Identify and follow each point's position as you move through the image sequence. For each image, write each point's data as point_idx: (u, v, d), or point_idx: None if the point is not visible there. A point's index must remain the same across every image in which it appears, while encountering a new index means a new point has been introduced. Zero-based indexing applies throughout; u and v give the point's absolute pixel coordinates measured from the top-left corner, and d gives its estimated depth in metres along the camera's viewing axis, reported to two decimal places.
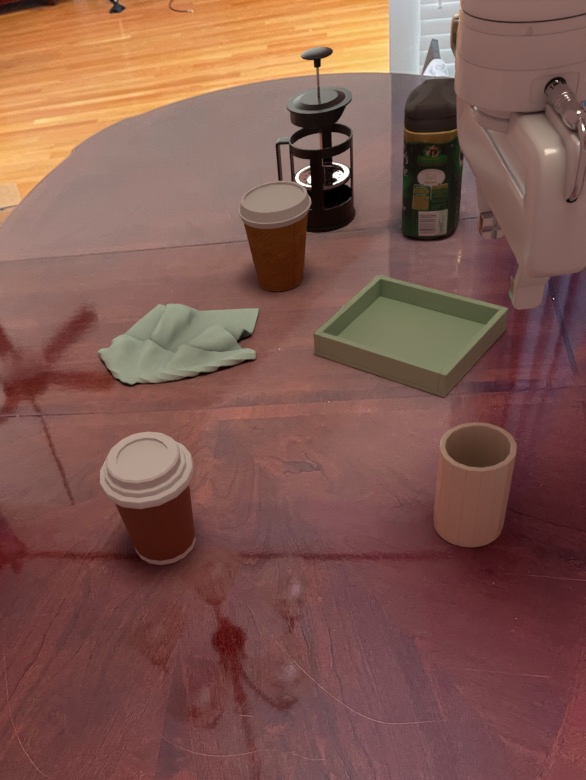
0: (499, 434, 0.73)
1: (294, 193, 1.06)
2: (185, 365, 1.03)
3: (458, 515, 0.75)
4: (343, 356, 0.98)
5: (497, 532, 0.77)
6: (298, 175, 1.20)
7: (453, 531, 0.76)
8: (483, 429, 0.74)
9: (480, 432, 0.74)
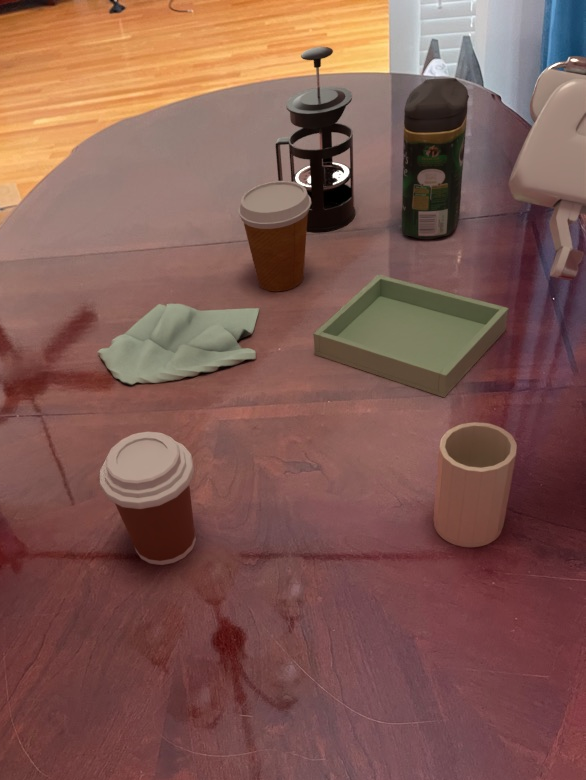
0: (499, 434, 0.73)
1: (294, 193, 1.06)
2: (185, 365, 1.03)
3: (458, 515, 0.75)
4: (343, 356, 0.98)
5: (497, 532, 0.77)
6: (298, 175, 1.20)
7: (453, 531, 0.76)
8: (483, 429, 0.74)
9: (480, 432, 0.74)
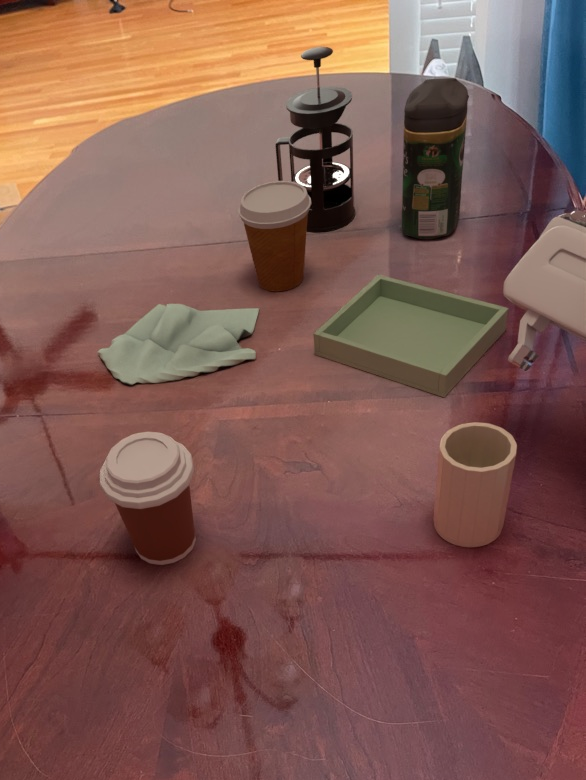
0: (499, 434, 0.73)
1: (294, 192, 1.06)
2: (185, 365, 1.03)
3: (458, 515, 0.75)
4: (343, 356, 0.98)
5: (497, 532, 0.77)
6: (298, 175, 1.20)
7: (453, 531, 0.76)
8: (483, 429, 0.74)
9: (480, 432, 0.74)
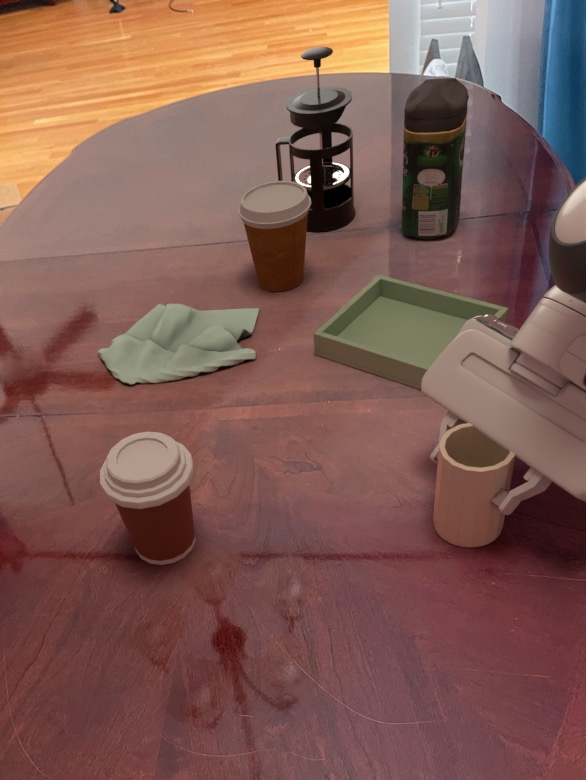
0: None
1: (294, 193, 1.06)
2: (185, 365, 1.03)
3: (458, 515, 0.75)
4: (343, 356, 0.98)
5: (497, 532, 0.77)
6: (298, 175, 1.20)
7: (453, 531, 0.76)
8: None
9: None
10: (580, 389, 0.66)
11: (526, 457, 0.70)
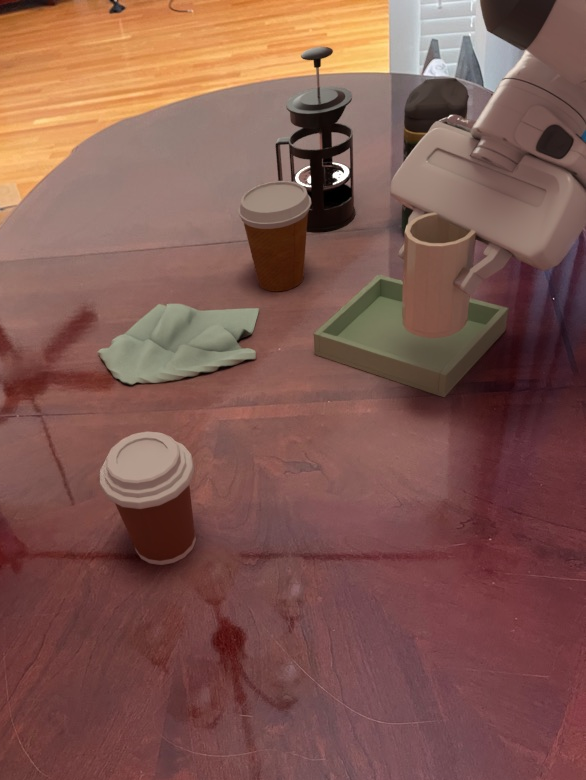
0: None
1: (294, 193, 1.06)
2: (185, 365, 1.03)
3: (423, 301, 0.79)
4: (343, 356, 0.98)
5: (461, 322, 0.81)
6: (298, 175, 1.20)
7: (420, 320, 0.81)
8: None
9: (444, 221, 0.79)
10: (533, 157, 0.71)
11: (485, 232, 0.74)
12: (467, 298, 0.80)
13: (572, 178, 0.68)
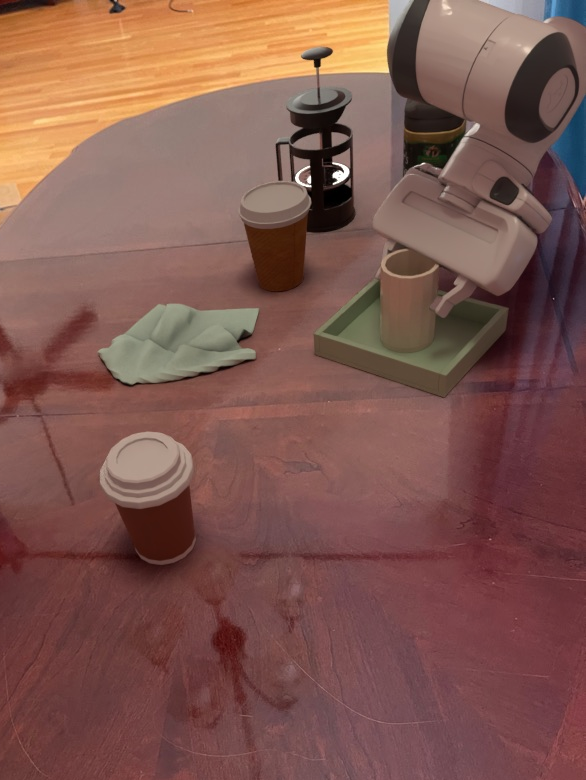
0: None
1: (294, 192, 1.06)
2: (185, 365, 1.03)
3: (396, 322, 0.95)
4: (343, 356, 0.98)
5: (429, 339, 0.97)
6: (298, 175, 1.20)
7: (394, 338, 0.97)
8: (416, 253, 0.94)
9: (413, 256, 0.94)
10: (488, 202, 0.86)
11: (449, 263, 0.89)
12: (433, 320, 0.96)
13: (518, 221, 0.84)
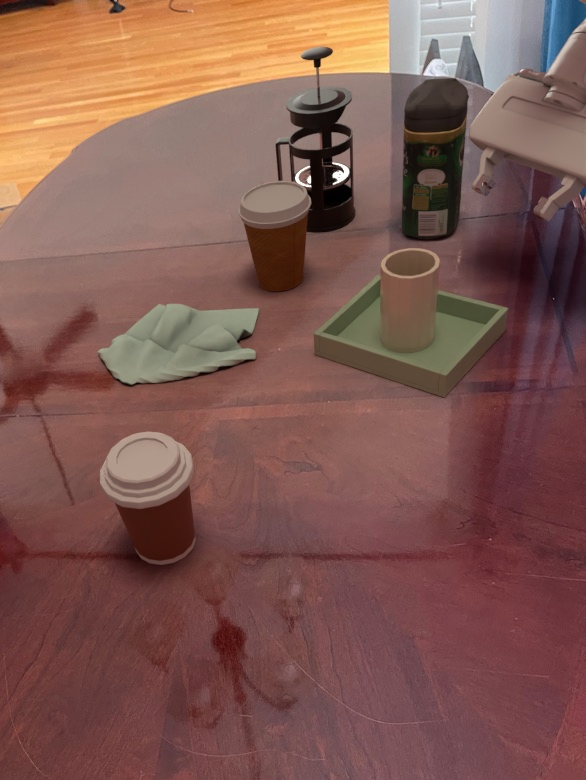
0: (427, 255, 0.93)
1: (294, 193, 1.06)
2: (185, 365, 1.03)
3: (396, 322, 0.95)
4: (343, 356, 0.98)
5: (429, 339, 0.97)
6: (298, 175, 1.20)
7: (394, 338, 0.97)
8: (416, 253, 0.94)
9: (413, 256, 0.94)
10: None
11: (556, 163, 0.88)
12: (433, 320, 0.96)
13: None
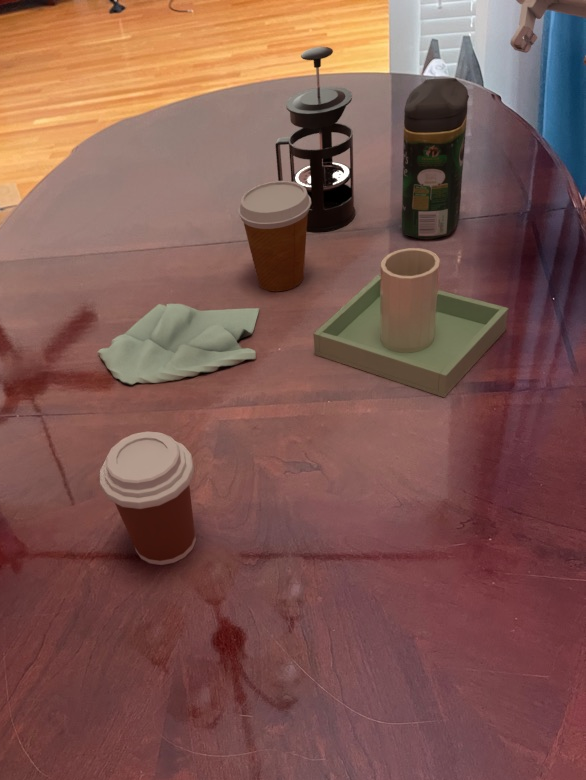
0: (427, 255, 0.93)
1: (294, 193, 1.06)
2: (185, 365, 1.03)
3: (396, 322, 0.95)
4: (343, 356, 0.98)
5: (429, 339, 0.97)
6: (298, 175, 1.20)
7: (394, 338, 0.97)
8: (416, 253, 0.94)
9: (413, 256, 0.94)
10: None
11: None
12: (433, 320, 0.96)
13: None
